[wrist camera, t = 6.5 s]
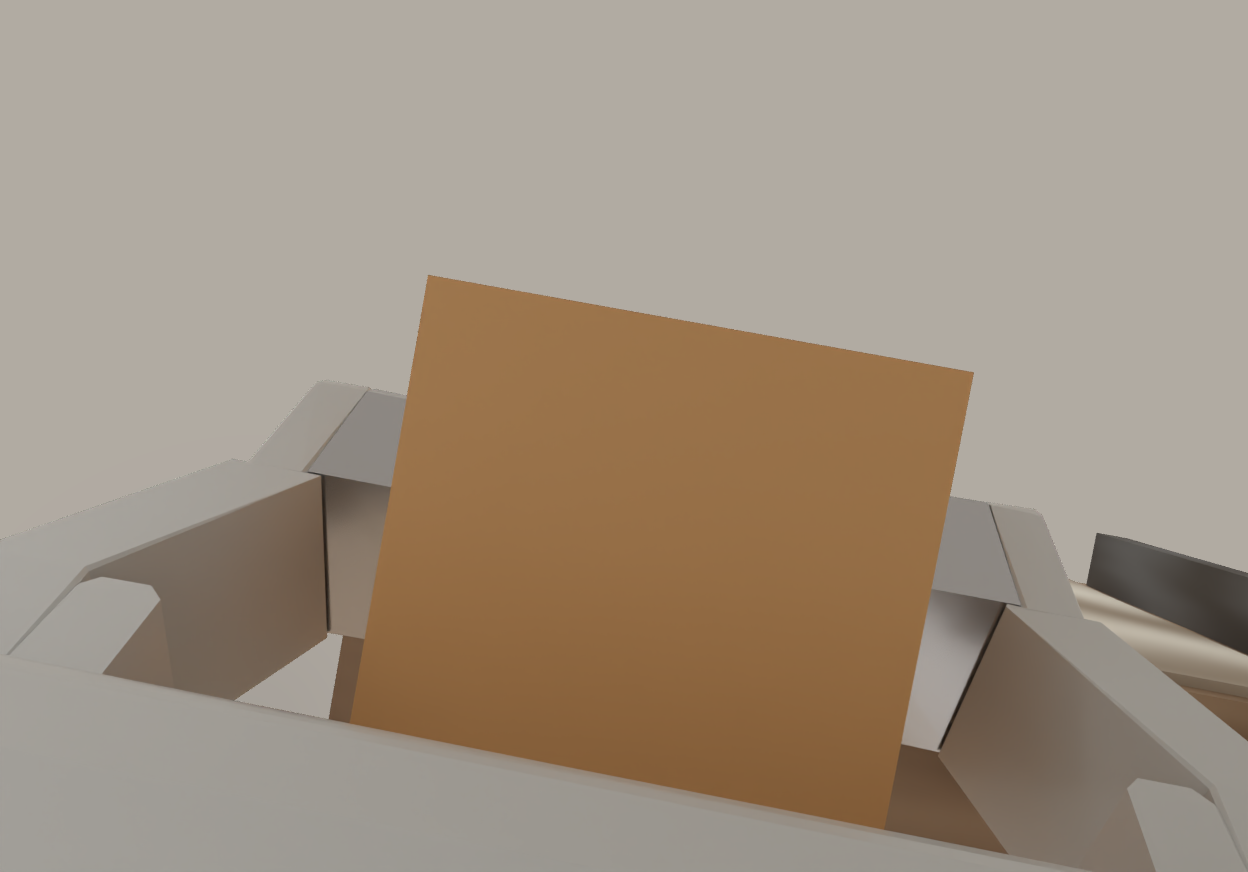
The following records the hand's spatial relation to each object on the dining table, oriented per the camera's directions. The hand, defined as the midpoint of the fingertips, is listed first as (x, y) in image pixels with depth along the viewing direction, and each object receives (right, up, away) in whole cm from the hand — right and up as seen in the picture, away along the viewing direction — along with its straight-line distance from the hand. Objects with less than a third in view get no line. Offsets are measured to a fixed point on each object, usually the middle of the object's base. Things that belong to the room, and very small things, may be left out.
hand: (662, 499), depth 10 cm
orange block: (0, -2, +11) cm, 11 cm away
